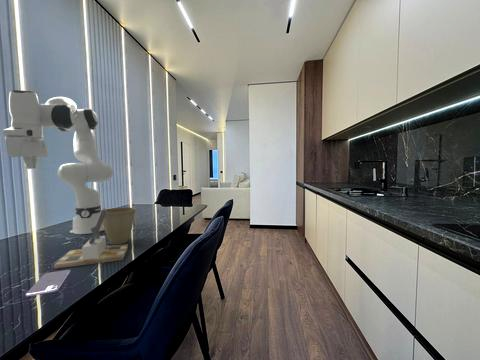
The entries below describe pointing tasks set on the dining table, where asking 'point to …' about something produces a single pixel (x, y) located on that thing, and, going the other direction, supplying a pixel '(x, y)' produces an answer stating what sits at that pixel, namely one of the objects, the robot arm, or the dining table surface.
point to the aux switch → (93, 231)
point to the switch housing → (94, 248)
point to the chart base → (77, 259)
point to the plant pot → (118, 224)
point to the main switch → (98, 226)
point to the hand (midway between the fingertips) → (31, 168)
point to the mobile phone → (48, 283)
